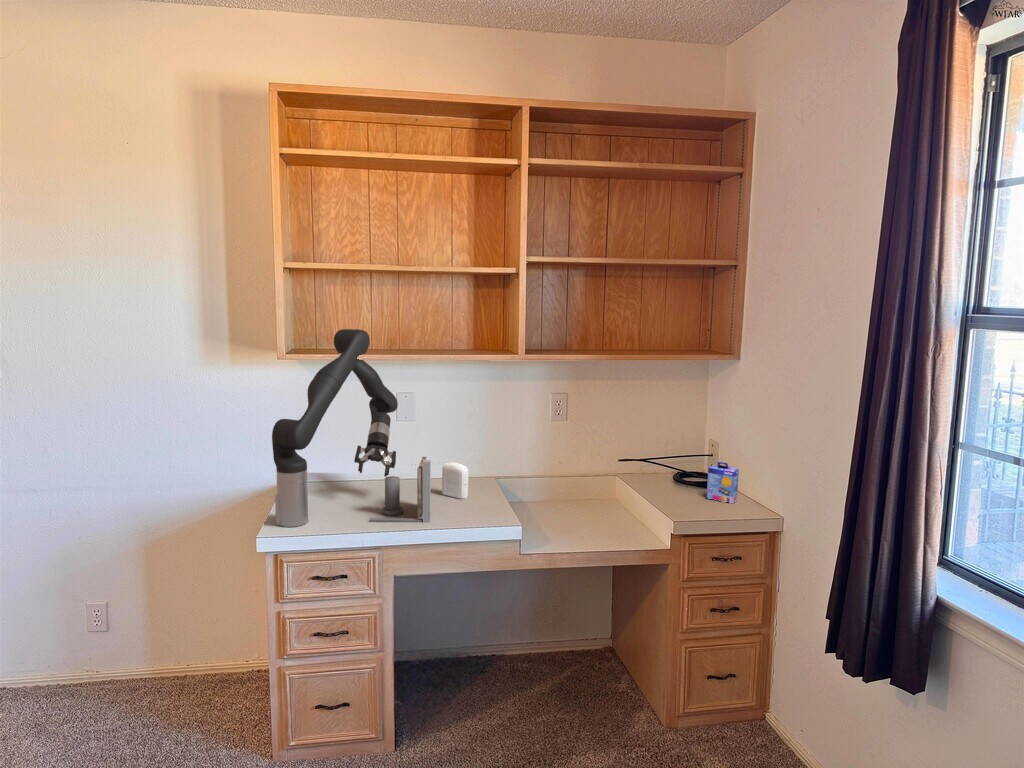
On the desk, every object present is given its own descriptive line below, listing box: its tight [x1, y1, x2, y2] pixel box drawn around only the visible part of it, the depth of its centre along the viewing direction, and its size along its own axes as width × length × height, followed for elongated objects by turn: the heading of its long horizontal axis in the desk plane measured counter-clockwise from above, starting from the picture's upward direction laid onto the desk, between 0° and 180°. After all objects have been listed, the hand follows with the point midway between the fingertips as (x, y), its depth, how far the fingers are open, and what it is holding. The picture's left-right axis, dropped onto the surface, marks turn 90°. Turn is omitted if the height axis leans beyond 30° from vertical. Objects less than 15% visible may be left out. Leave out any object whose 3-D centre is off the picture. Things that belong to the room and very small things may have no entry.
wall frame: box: [369, 459, 432, 523], centre depth 224 cm, size 19×2×20 cm, turn 92°
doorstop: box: [381, 475, 404, 517], centre depth 233 cm, size 7×7×12 cm
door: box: [416, 456, 432, 518], centre depth 232 cm, size 17×3×16 cm, turn 2°
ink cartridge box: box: [706, 461, 740, 504], centre depth 254 cm, size 10×6×14 cm, turn 56°
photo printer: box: [441, 461, 469, 500], centre depth 253 cm, size 10×4×12 cm, turn 56°
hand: (373, 473), depth 243 cm, fingers open, 8 cm apart
